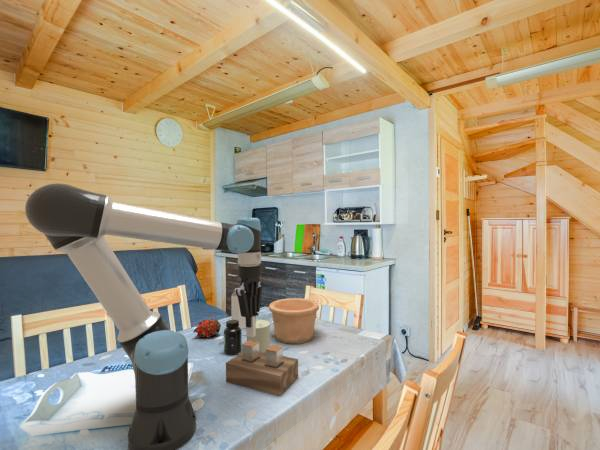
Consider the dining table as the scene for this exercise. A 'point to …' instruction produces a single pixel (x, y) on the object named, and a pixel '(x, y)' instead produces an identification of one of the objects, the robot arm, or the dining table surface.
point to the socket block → (262, 374)
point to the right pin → (274, 356)
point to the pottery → (294, 319)
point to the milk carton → (237, 311)
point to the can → (262, 335)
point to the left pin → (250, 351)
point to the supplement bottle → (232, 338)
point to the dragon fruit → (208, 328)
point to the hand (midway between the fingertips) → (251, 335)
